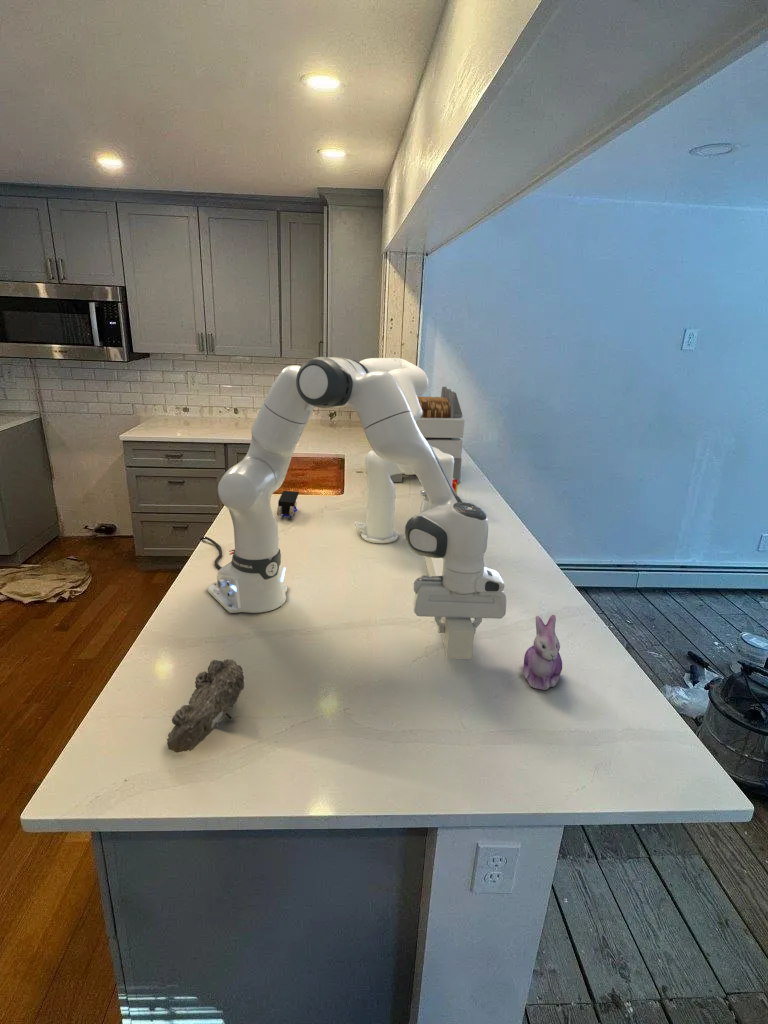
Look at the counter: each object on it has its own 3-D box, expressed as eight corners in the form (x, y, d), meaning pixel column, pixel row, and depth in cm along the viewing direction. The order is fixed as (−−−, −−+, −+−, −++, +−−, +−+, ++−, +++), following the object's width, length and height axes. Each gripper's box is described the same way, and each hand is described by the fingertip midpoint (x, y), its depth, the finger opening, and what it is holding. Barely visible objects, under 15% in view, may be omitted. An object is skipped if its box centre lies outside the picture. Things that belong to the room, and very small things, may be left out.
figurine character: (294, 525, 207) (299, 507, 220) (294, 506, 203) (299, 489, 217) (276, 524, 206) (282, 506, 220) (275, 506, 203) (281, 489, 216)
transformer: (382, 463, 289) (386, 382, 275) (445, 464, 293) (451, 384, 279) (390, 482, 257) (394, 392, 243) (460, 483, 261) (468, 394, 247)
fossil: (192, 660, 117) (244, 628, 112) (224, 691, 120) (276, 661, 115) (142, 746, 98) (202, 712, 93) (182, 779, 101) (242, 748, 96)
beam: (422, 548, 179) (424, 527, 176) (439, 548, 179) (441, 528, 176) (446, 658, 122) (449, 630, 120) (471, 658, 122) (474, 631, 120)
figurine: (541, 697, 118) (551, 634, 112) (509, 670, 126) (518, 610, 121) (575, 685, 122) (586, 624, 117) (542, 660, 130) (551, 602, 125)
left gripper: (415, 582, 119) (411, 638, 124) (511, 585, 120) (503, 641, 125) (413, 568, 125) (409, 623, 130) (505, 572, 126) (497, 626, 131)
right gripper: (409, 498, 162) (406, 556, 169) (469, 500, 163) (463, 557, 169) (408, 490, 169) (404, 545, 176) (465, 492, 170) (459, 547, 176)
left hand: (456, 632), depth 127 cm, fingers closed on beam, 5 cm apart
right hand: (433, 551), depth 172 cm, fingers closed on beam, 5 cm apart
